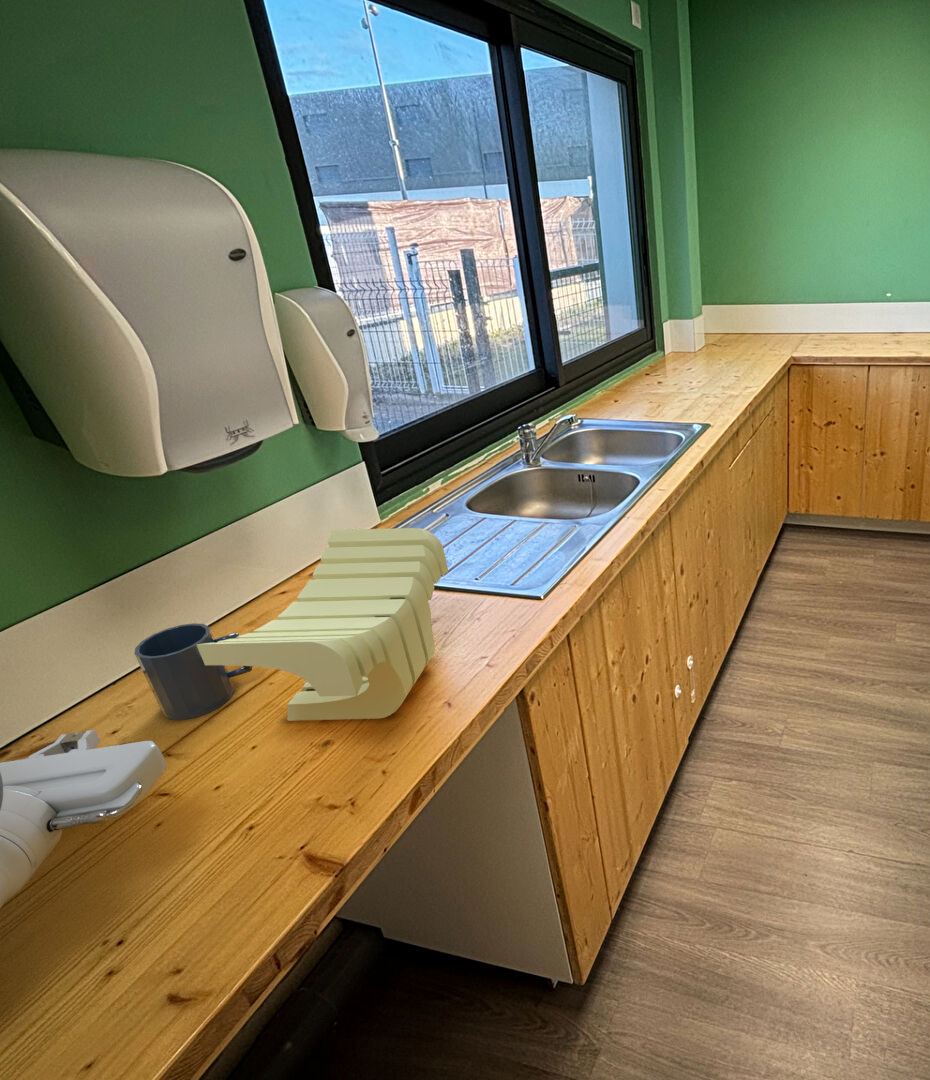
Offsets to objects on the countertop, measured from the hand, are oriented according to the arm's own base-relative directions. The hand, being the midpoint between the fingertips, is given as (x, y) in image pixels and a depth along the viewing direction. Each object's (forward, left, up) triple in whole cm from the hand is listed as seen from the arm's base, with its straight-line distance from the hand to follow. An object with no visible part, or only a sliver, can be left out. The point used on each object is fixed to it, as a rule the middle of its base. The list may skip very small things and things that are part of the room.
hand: (82, 736), depth 75 cm
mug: (+2, +20, -10) cm, 22 cm away
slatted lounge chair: (+23, +16, -10) cm, 30 cm away
